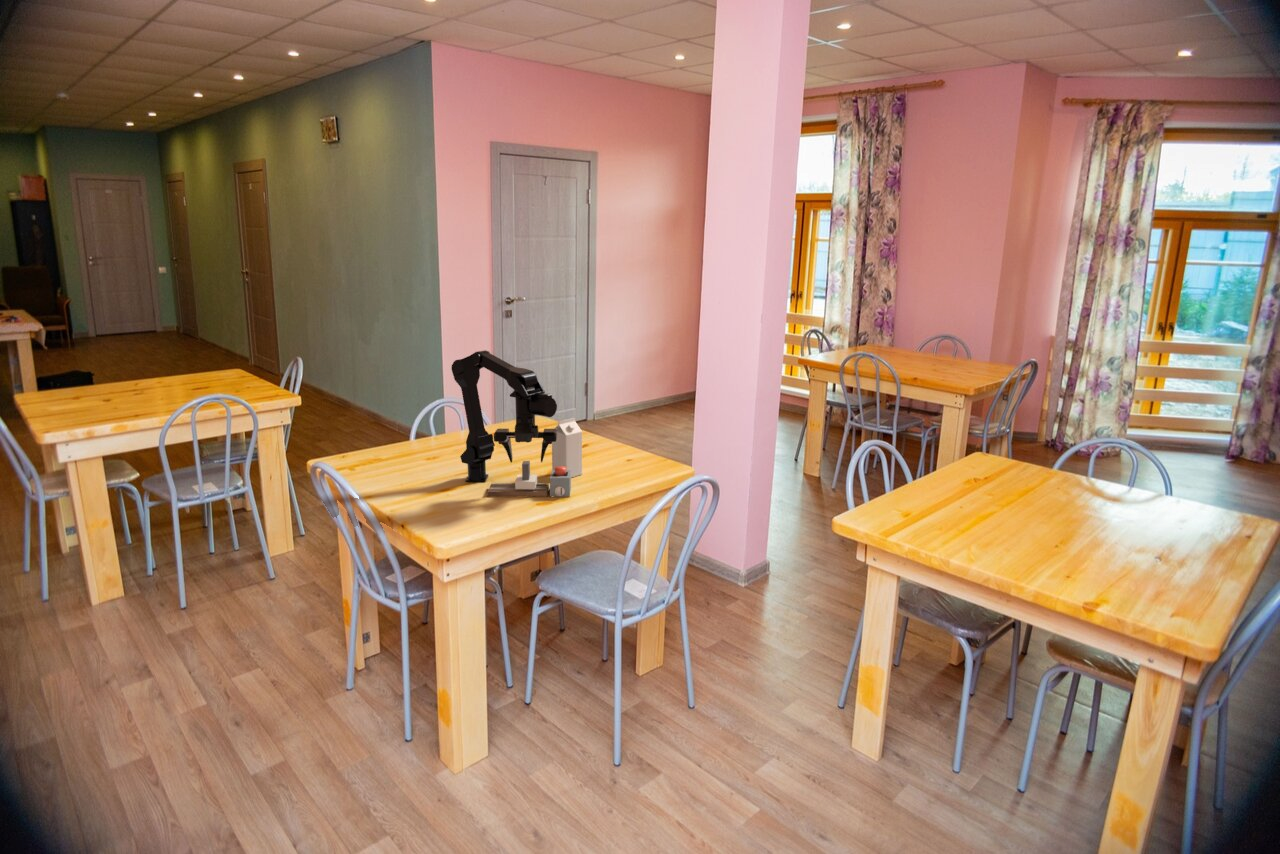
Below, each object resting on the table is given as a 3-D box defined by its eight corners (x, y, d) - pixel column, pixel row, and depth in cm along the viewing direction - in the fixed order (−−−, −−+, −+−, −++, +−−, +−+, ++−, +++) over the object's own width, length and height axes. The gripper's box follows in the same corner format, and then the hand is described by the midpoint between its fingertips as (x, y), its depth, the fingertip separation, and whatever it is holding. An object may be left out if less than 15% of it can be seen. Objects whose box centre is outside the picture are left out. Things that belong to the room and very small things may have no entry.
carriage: (518, 481, 238) (517, 459, 237) (537, 482, 239) (536, 459, 237) (515, 489, 232) (514, 465, 230) (535, 489, 232) (534, 466, 230)
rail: (491, 488, 239) (491, 481, 239) (548, 488, 240) (548, 481, 239) (487, 496, 231) (487, 489, 231) (546, 496, 232) (546, 490, 231)
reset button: (555, 475, 236) (555, 466, 236) (566, 475, 237) (566, 466, 236) (554, 478, 233) (554, 469, 232) (566, 478, 233) (565, 469, 232)
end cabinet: (552, 488, 240) (551, 470, 238) (571, 488, 240) (570, 470, 239) (549, 497, 232) (549, 478, 230) (569, 497, 232) (569, 478, 230)
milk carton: (552, 474, 253) (551, 419, 249) (568, 470, 258) (567, 415, 254) (566, 479, 249) (565, 423, 244) (582, 474, 254) (582, 419, 249)
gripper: (490, 418, 221) (492, 470, 225) (554, 418, 222) (555, 470, 226) (495, 410, 232) (497, 459, 236) (557, 410, 233) (557, 459, 236)
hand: (526, 462), depth 233 cm, fingers open, 9 cm apart
